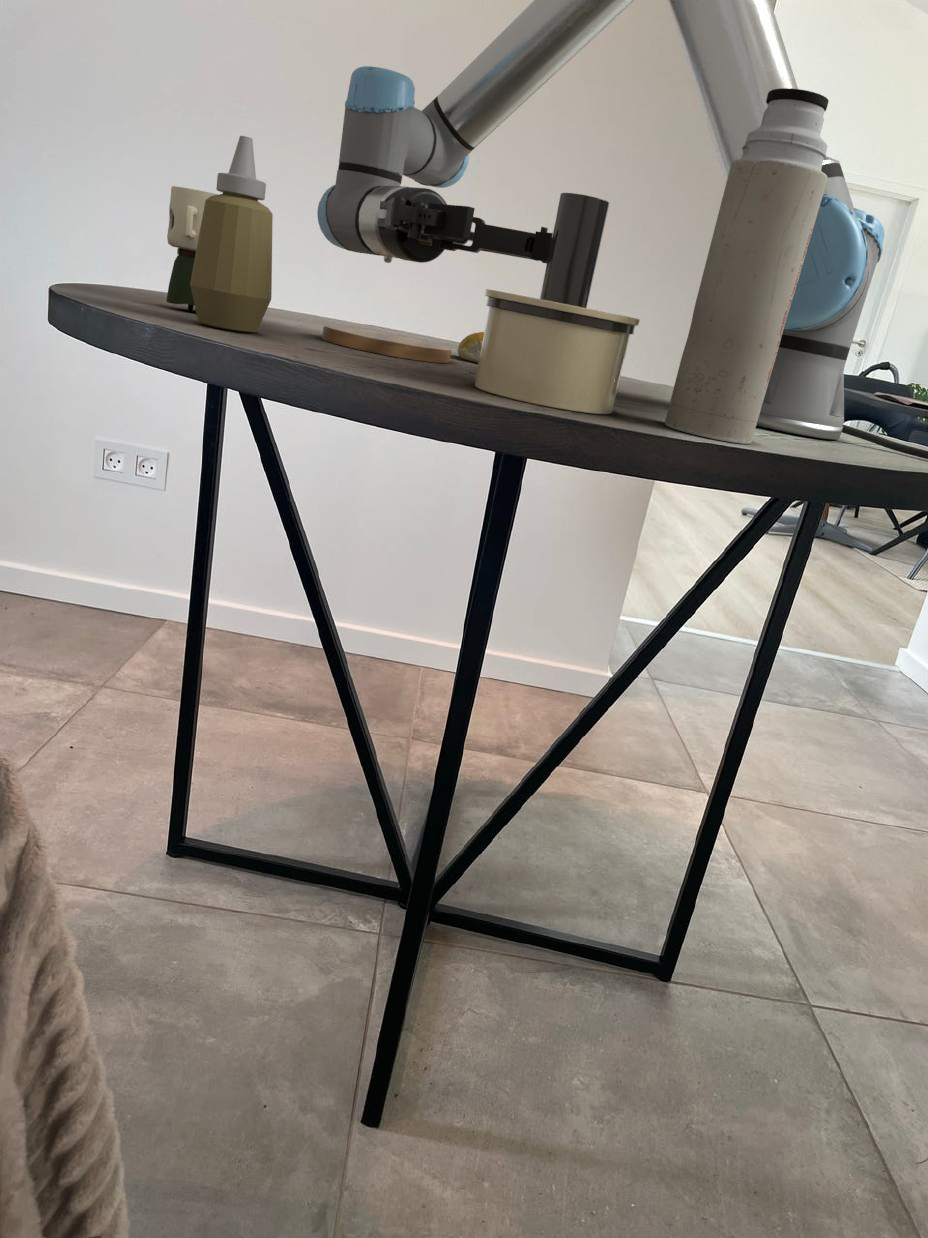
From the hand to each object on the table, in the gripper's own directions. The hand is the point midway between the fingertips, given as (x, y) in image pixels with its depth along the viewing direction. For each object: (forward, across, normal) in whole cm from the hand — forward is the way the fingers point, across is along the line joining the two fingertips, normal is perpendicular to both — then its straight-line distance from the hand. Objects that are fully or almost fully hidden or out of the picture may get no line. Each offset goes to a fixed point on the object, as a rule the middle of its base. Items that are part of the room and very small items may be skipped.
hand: (525, 237), depth 88 cm
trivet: (-22, 0, -14) cm, 26 cm away
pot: (+7, 0, -14) cm, 16 cm away
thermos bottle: (+19, -10, -14) cm, 26 cm away
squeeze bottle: (-21, +20, -14) cm, 32 cm away
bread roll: (-23, -16, -14) cm, 31 cm away
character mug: (-37, +17, -14) cm, 43 cm away
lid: (+7, 0, -6) cm, 9 cm away
